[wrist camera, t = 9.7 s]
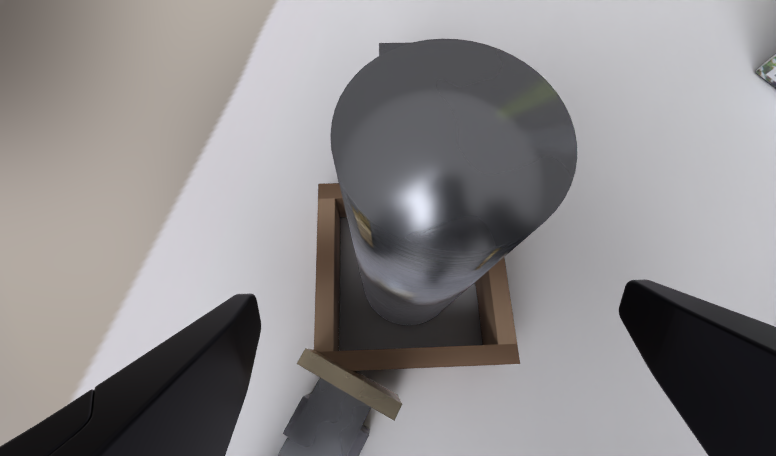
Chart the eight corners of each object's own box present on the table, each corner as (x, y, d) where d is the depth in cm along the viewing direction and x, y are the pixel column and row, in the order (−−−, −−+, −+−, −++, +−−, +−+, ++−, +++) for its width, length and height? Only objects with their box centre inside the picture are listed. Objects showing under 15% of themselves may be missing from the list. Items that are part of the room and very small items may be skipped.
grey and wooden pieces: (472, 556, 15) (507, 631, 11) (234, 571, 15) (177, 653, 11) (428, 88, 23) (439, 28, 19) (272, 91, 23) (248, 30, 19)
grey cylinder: (428, 342, 18) (526, 298, 6) (346, 298, 19) (281, 177, 7) (466, 261, 20) (607, 93, 7) (388, 223, 20) (400, 9, 8)
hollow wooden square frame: (501, 363, 18) (520, 363, 16) (322, 371, 18) (313, 372, 15) (479, 200, 21) (492, 179, 18) (325, 204, 20) (318, 183, 18)
